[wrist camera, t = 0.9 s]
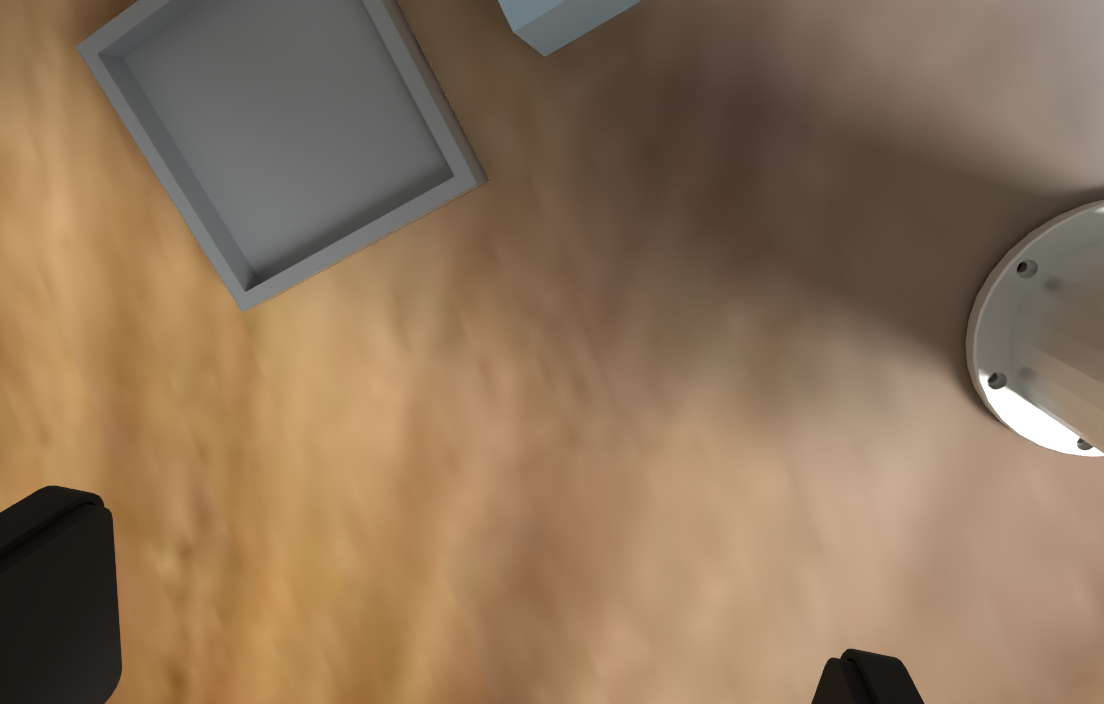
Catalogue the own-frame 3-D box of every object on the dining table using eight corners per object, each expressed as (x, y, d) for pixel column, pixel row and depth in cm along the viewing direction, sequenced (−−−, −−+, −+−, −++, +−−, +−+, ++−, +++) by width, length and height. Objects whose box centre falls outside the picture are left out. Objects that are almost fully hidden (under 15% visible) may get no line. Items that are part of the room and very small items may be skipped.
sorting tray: (339, -109, 31) (314, -130, 29) (488, 180, 34) (477, 184, 32) (114, 52, 35) (75, 46, 32) (267, 301, 38) (241, 311, 35)
